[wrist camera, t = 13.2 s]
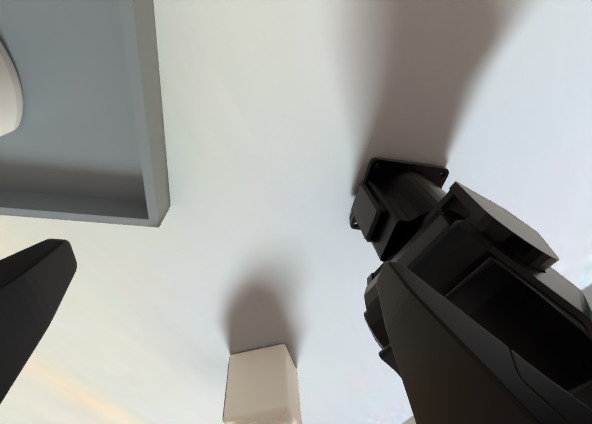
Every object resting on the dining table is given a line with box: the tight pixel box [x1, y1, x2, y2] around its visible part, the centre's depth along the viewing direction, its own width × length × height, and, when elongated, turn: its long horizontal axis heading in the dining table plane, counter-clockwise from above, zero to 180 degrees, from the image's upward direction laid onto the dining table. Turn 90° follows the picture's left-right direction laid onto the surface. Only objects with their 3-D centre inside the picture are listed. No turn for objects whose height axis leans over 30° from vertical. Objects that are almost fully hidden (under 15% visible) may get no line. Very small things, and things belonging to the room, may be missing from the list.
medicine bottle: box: [223, 344, 302, 424], centre depth 31 cm, size 7×7×12 cm
